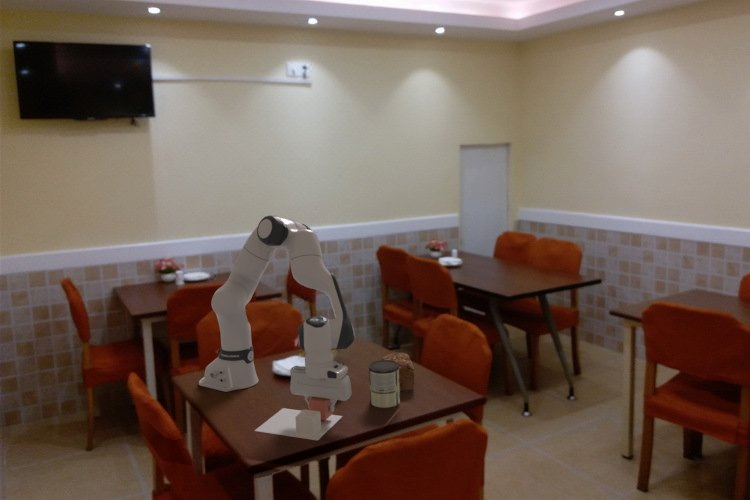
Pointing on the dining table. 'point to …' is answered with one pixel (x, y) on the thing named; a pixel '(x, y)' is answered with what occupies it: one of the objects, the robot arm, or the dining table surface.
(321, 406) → the salmon red cube
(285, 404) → the dining table surface
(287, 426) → the plate
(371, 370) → the coffee can
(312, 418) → the pale grey cube
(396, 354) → the bread
